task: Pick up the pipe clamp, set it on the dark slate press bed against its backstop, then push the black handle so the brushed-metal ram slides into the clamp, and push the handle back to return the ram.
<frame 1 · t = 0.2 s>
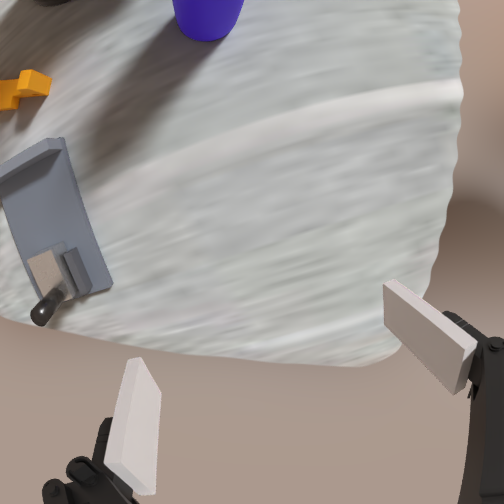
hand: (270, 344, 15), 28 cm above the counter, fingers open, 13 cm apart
bottle: (206, 19, 32), on the counter
ram: (46, 282, 32), point 7 cm above the counter, slide at 0.0 cm
press: (39, 194, 35), on the counter
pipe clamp: (19, 95, 30), on the counter
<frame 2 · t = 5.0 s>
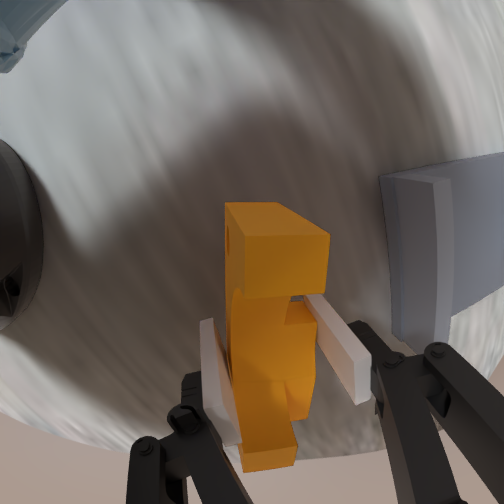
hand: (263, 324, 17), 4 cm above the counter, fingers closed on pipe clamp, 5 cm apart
press: (445, 242, 21), on the counter
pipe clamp: (264, 309, 17), point 3 cm above the counter, touching gripper
when the fingers open (2 cm above the counter, at t = 8.3 s): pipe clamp stays where it is, resting on press.
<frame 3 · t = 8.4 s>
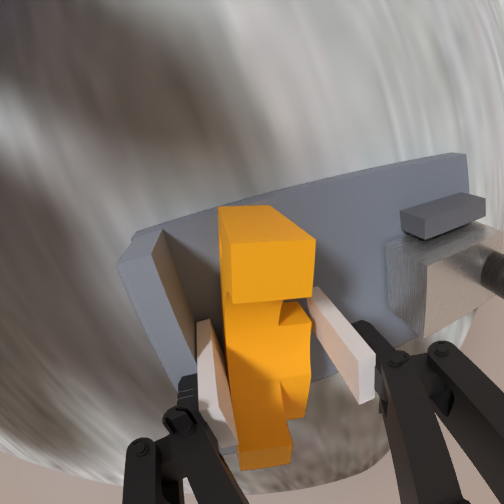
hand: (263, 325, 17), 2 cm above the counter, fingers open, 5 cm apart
ram: (480, 289, 13), point 7 cm above the counter, slide at 0.0 cm
press: (266, 302, 19), on the counter
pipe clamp: (259, 310, 17), point 1 cm above the counter, touching press
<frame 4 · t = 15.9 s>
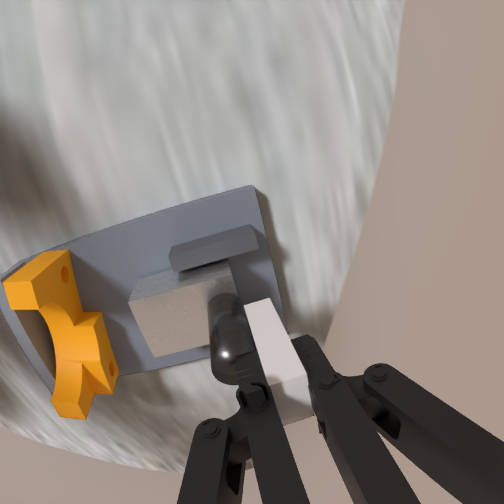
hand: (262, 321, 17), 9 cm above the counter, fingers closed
ram: (190, 326, 18), point 7 cm above the counter, slide at 1.7 cm, touching gripper
press: (95, 310, 24), on the counter
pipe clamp: (81, 315, 23), point 1 cm above the counter, touching press
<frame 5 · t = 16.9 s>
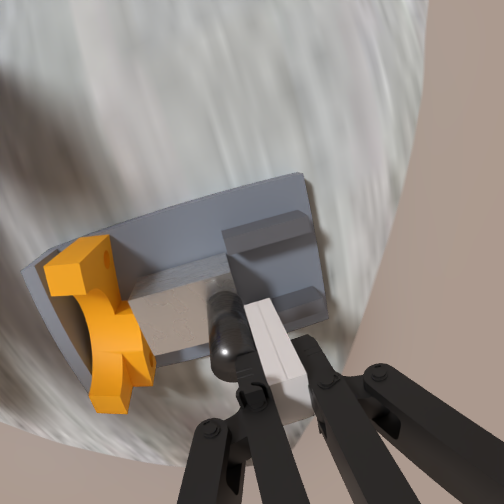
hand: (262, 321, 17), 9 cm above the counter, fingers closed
ram: (190, 325, 19), point 7 cm above the counter, slide at 5.6 cm, touching gripper
press: (132, 299, 25), on the counter
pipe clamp: (118, 304, 23), point 1 cm above the counter, touching press
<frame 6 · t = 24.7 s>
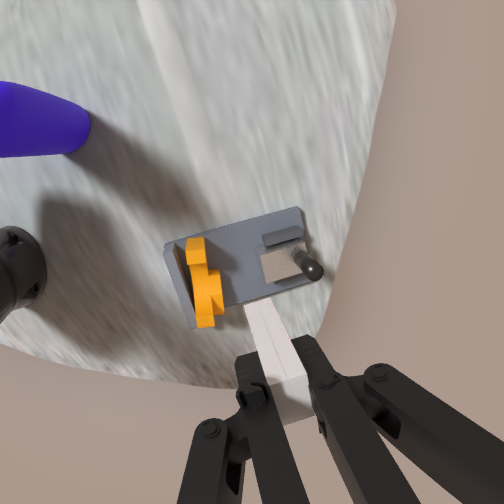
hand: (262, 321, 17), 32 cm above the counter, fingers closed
bottle: (70, 129, 39), on the counter
ram: (288, 265, 44), point 7 cm above the counter, slide at 0.0 cm
press: (212, 270, 50), on the counter
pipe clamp: (205, 272, 49), point 1 cm above the counter, touching press
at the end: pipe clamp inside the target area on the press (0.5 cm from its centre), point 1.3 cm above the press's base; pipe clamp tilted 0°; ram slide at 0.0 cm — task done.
